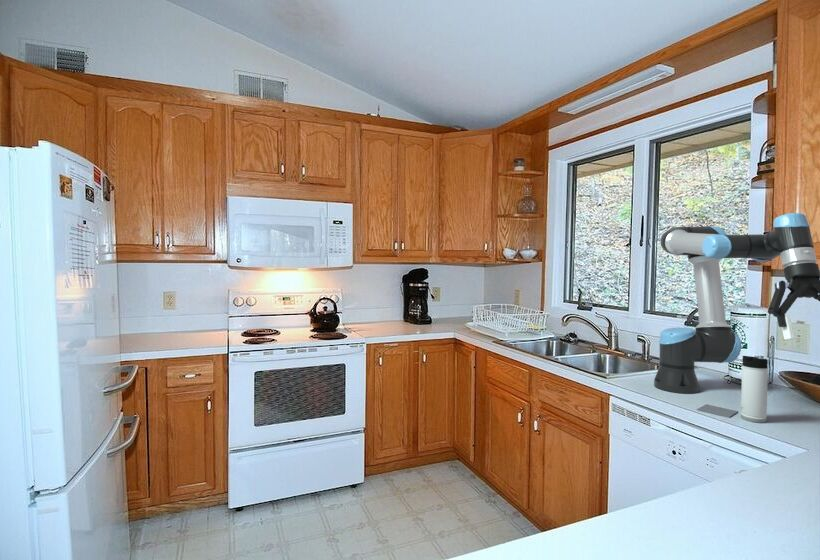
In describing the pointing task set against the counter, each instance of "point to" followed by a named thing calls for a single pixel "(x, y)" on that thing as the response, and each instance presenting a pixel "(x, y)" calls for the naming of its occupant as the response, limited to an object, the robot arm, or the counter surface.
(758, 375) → the travel mug
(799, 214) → the robot arm
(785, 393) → the counter surface
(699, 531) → the counter surface
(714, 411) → the rubber mat
